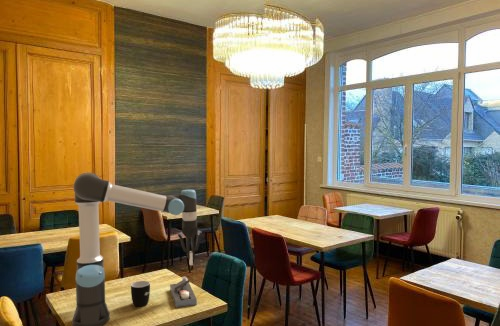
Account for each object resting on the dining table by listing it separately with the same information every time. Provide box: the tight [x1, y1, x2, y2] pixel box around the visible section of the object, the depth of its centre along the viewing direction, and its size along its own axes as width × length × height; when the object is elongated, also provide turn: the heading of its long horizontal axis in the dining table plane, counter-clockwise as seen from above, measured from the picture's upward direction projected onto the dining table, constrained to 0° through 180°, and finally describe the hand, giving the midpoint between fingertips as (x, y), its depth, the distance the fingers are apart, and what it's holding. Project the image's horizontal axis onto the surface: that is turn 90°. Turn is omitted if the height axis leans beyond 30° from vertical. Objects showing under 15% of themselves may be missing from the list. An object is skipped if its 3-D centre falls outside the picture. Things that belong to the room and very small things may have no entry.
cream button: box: [181, 291, 189, 300], centre depth 183 cm, size 4×4×3 cm
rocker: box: [174, 277, 190, 290], centre depth 195 cm, size 8×4×1 cm, turn 108°
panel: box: [169, 282, 198, 308], centre depth 191 cm, size 10×24×5 cm, turn 18°
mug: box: [130, 280, 151, 308], centre depth 184 cm, size 12×9×10 cm
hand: (191, 264), depth 195 cm, fingers closed
